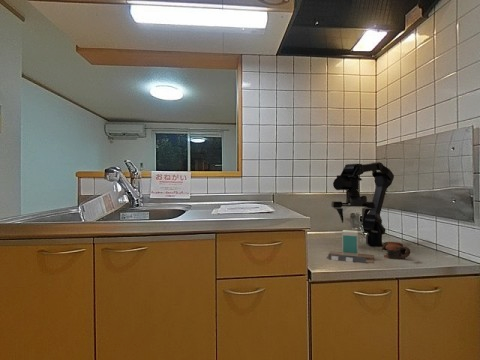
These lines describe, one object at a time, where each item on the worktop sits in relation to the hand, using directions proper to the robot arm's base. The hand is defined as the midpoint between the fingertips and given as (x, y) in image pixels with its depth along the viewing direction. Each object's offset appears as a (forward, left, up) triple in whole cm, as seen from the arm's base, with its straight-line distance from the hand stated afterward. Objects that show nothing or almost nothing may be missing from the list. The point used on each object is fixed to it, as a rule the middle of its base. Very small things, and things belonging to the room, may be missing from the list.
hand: (352, 222), depth 135 cm
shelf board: (+5, +16, -13) cm, 21 cm away
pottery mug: (-13, +15, -13) cm, 24 cm away
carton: (+6, +17, -12) cm, 22 cm away
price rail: (+8, +22, -13) cm, 27 cm away
